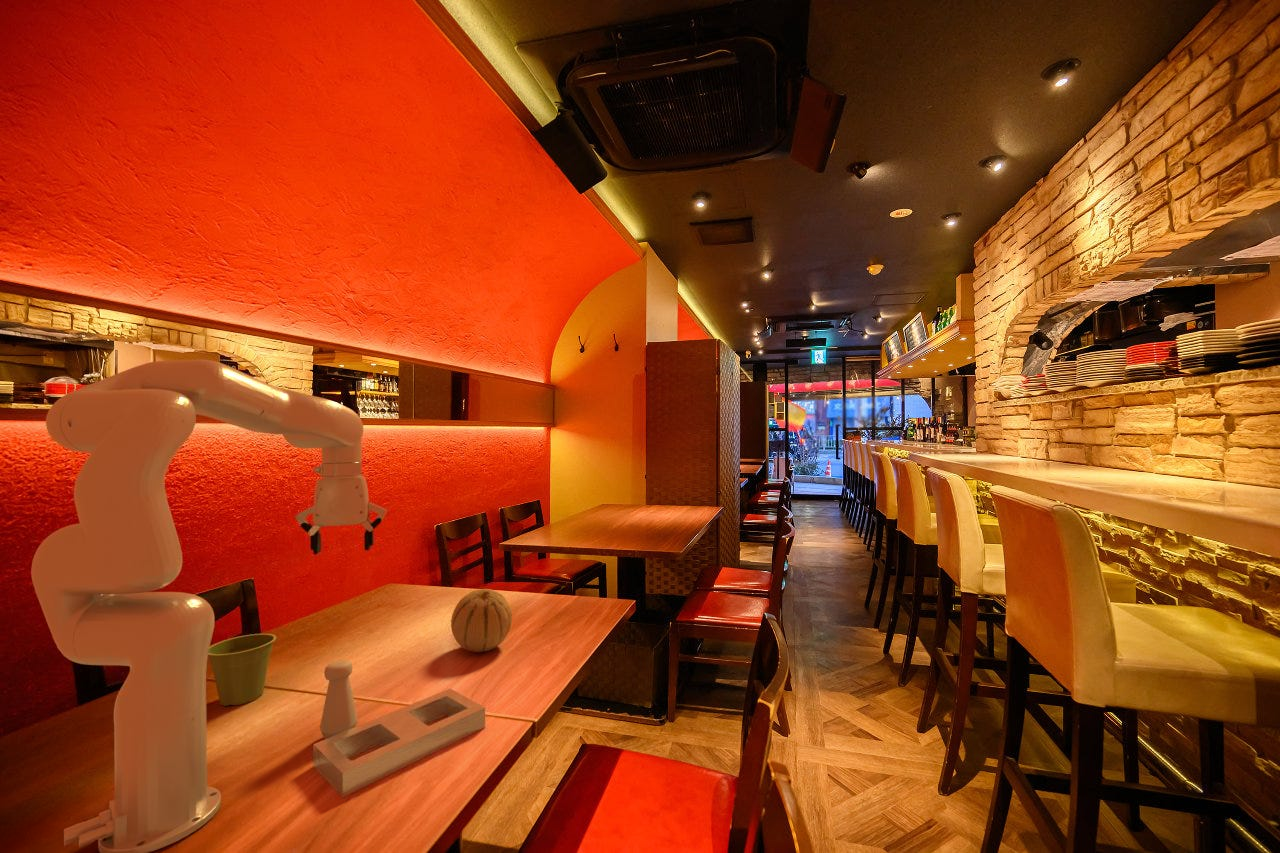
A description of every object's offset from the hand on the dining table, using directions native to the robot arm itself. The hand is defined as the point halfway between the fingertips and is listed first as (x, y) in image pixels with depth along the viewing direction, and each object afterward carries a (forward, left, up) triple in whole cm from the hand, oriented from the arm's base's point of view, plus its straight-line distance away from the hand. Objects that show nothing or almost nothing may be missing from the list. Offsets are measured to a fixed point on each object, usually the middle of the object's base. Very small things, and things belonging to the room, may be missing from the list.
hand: (342, 551), depth 114 cm
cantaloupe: (+30, -6, -29) cm, 42 cm away
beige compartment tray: (-2, -32, -29) cm, 43 cm away
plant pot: (-15, +12, -29) cm, 35 cm away
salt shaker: (-8, -20, -29) cm, 36 cm away
